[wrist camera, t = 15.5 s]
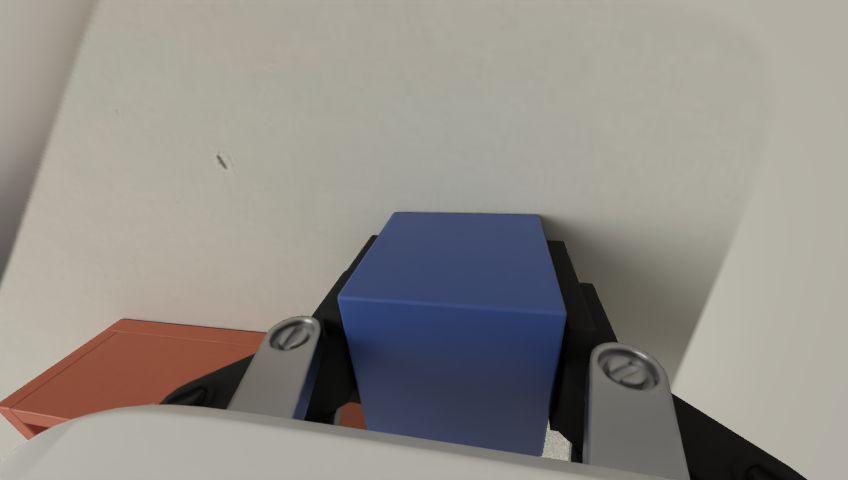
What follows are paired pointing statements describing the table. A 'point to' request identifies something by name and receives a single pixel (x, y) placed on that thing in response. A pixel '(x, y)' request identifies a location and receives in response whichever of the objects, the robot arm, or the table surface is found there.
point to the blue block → (457, 329)
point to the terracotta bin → (132, 373)
